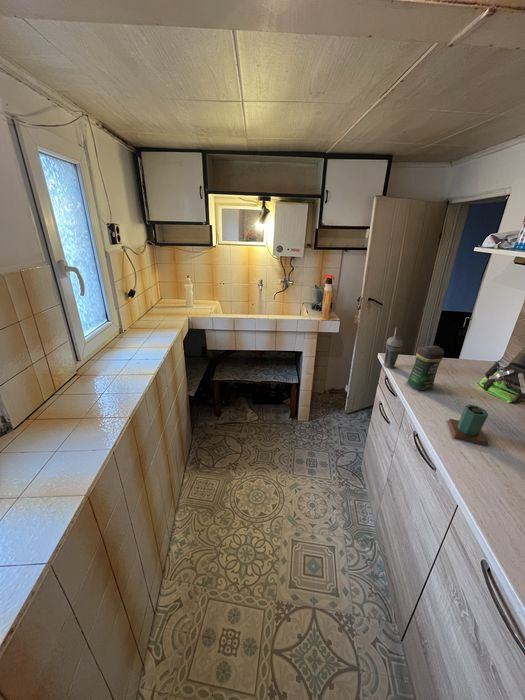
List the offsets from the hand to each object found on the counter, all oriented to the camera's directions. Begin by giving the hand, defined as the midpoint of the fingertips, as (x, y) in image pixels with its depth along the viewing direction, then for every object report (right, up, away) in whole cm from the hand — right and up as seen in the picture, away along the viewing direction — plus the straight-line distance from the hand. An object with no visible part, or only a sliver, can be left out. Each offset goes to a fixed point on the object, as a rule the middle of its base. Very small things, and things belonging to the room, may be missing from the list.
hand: (498, 395), depth 94 cm
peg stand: (-10, -13, +1) cm, 16 cm away
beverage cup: (-17, +7, +44) cm, 48 cm away
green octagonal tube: (-10, -11, 0) cm, 15 cm away
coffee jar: (-11, 0, +27) cm, 30 cm away
